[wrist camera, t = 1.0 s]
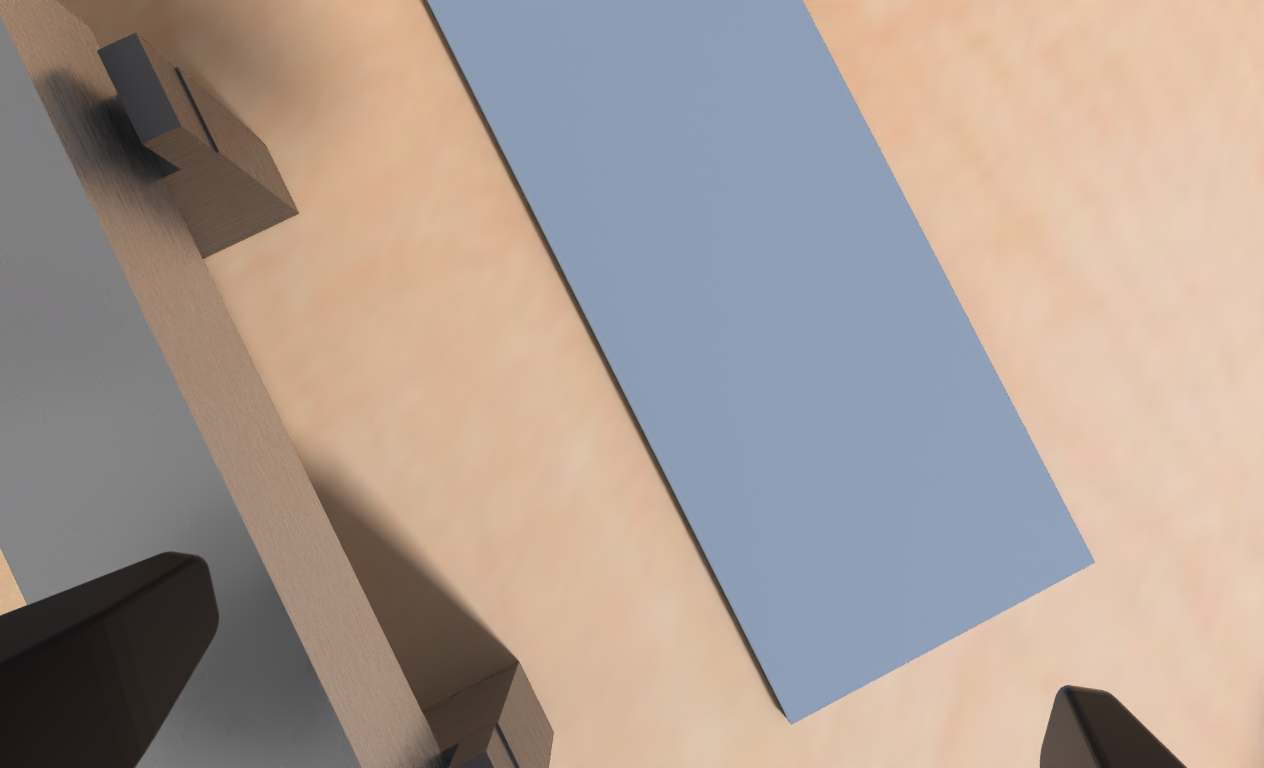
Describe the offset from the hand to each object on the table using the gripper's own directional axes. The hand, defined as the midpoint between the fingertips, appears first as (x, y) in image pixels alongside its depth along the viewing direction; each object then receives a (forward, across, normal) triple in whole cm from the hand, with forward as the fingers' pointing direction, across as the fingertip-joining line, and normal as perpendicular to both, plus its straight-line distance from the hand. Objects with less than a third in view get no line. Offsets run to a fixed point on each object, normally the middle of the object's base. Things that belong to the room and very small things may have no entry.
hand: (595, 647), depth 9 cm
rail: (+6, +9, +3) cm, 12 cm away
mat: (+16, 0, +1) cm, 16 cm away
